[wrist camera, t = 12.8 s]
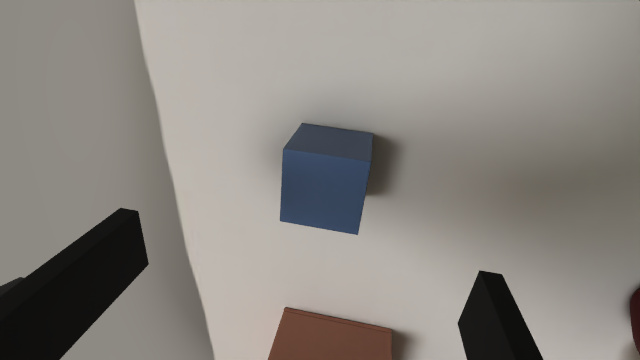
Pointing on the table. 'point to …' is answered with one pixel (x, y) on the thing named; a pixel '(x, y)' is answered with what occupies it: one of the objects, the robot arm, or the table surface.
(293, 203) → the blue block
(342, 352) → the clay bin
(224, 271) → the table surface
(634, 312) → the mug
